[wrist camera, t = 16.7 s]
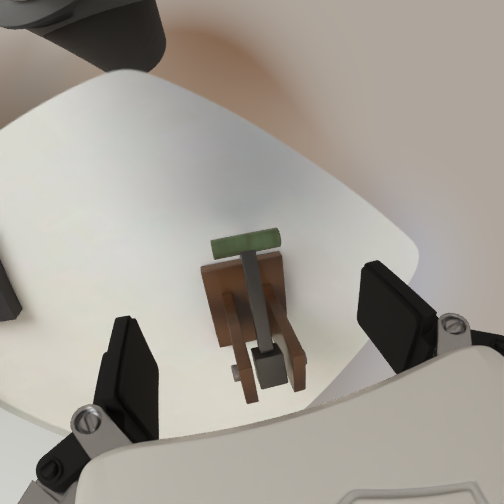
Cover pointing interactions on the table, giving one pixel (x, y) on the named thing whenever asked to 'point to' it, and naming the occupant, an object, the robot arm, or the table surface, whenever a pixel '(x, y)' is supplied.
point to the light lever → (256, 300)
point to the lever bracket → (241, 323)
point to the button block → (7, 299)
